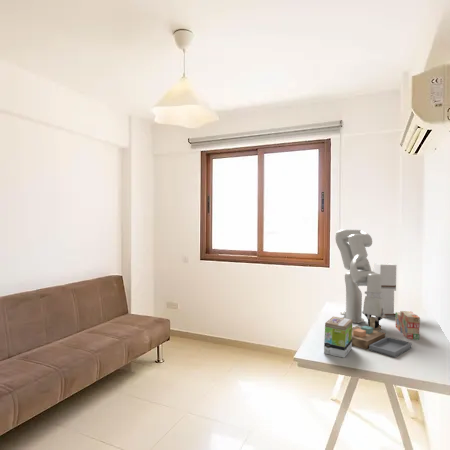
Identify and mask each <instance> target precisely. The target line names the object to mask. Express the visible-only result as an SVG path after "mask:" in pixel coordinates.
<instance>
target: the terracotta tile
mask: <svg viewBox="0 0 450 450" xmlns="http://www.w3.org/2000/svg"><path fill="white" fill-rule="evenodd" d="M353 335H355V336H359V337H364V336H366V330H362V329H355V330H353Z"/></svg>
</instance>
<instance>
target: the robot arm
mask: <svg viewBox="0 0 450 450" xmlns="http://www.w3.org/2000/svg"><path fill="white" fill-rule="evenodd" d="M335 243H336V246H337V248H338V250H339V252H340V256H341V260H342V263H343V264H342V265H343V267H344V269H345V270H347V271H348V272H346V273H345V274H344V283H345V311H344V310H340V315H341V316H343V317H342V318H346V319H351V320H353V323H354V324H361V323H364V322H365V319H364V318H363V317H362V316H363V315H364V316H365V317H366V319H367V324H368V325H367V326H368V327H370V317H376V321H375V328H378V327H379V325H380V321H381V320H383V319H385V318H387V317H386V316H385V314H384V307H383V300H382V298H381V275H380V274H377V273H375V272H373V270H372V267H371V265H370V262H369V259H368V258H367V257H368V255H369V254H368V251H367V249H366V248H369V247H371V246H372V244H373V238H372V236H371V235H370V234H369V233H367V232H365V231H363V230H362V229H340V230H338V231H336V234H335ZM359 287H366V291H364V294H365V296H364V301H363V298H362V297H363V293H362V291H361V289H360V288H359ZM362 302H363V303H362ZM362 314H363V315H362ZM381 315H382V316H381ZM380 316H381V317H380Z"/></svg>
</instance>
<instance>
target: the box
mask: <svg viewBox="0 0 450 450" xmlns="http://www.w3.org/2000/svg"><path fill="white" fill-rule="evenodd" d="M412 344H413V343H412V342H409V341H407V340H402V339H399V338H398V339H397V338H394V337H391V336H385V338H383V339H381V340H379V341H377V342H375V343H373V344H370V345H369V349H368V351H372V352H375V353H378V354H379V355H380V354H381V355H383V356H388V357H391V358H394V359H395V358H397V357H398V356H400V355H402V354H404V353H405V352H407V351H408V350H410V349H412Z"/></svg>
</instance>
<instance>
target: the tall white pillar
mask: <svg viewBox="0 0 450 450" xmlns="http://www.w3.org/2000/svg"><path fill="white" fill-rule="evenodd" d="M372 271H373V272H375V273H377V274H380V275H381V298H382V300H383V307H384V314H385V316H386V317H385V318H396V317H395V291H397V264H394V263H390V262H386V264H381V263H377V262H372ZM381 316H382V315H381ZM381 316H380V317H381Z"/></svg>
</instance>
